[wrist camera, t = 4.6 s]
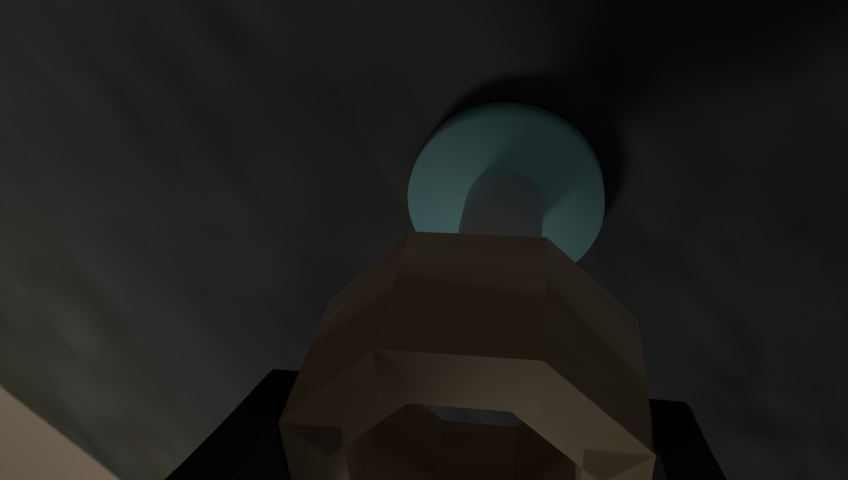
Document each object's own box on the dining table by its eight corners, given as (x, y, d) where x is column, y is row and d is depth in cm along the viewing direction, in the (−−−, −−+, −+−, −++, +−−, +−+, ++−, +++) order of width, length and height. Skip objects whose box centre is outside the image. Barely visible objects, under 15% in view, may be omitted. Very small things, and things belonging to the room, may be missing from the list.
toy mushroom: (611, 103, 17) (624, 205, 14) (595, 272, 20) (602, 398, 16) (407, 100, 18) (362, 195, 14) (418, 263, 21) (383, 380, 17)
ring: (649, 241, 12) (672, 370, 9) (616, 469, 15) (627, 611, 12) (317, 227, 13) (259, 340, 10) (350, 445, 16) (312, 572, 13)
